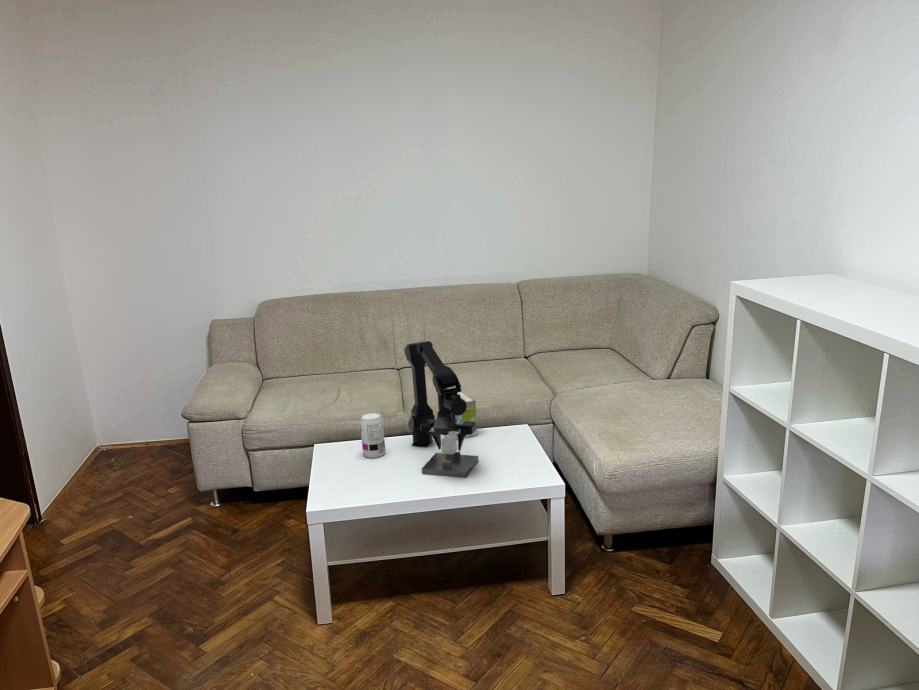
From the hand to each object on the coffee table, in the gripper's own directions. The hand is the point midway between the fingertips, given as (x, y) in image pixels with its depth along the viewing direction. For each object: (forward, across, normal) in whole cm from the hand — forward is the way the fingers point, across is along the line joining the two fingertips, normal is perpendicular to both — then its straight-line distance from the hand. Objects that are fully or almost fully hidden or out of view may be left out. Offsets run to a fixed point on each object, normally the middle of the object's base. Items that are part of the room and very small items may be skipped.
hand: (449, 449), depth 249 cm
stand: (+7, 0, 0) cm, 7 cm away
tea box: (+7, -8, +33) cm, 35 cm away
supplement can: (+7, -32, +6) cm, 33 cm away
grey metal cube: (+1, 0, 0) cm, 1 cm away
